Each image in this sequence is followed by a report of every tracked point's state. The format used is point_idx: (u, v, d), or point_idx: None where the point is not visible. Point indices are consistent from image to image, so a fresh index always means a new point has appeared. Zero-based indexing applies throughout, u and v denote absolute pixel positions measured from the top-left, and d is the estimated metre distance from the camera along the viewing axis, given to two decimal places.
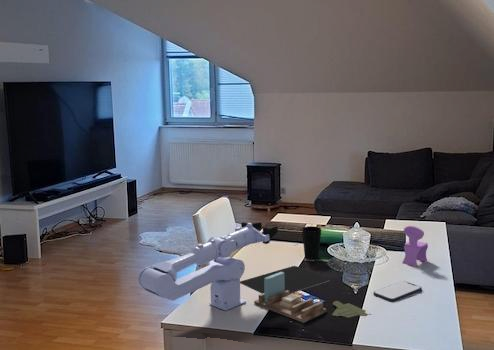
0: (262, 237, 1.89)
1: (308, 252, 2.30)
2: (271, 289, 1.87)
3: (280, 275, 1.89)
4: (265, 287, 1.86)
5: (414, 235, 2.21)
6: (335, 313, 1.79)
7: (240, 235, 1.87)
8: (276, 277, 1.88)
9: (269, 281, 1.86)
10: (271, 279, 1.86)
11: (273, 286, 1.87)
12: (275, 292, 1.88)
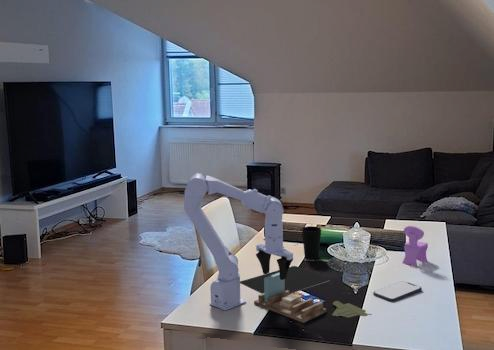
0: None
1: (308, 252, 2.30)
2: (271, 289, 1.87)
3: None
4: (265, 287, 1.86)
5: (414, 235, 2.21)
6: (335, 313, 1.79)
7: (280, 232, 1.84)
8: (276, 277, 1.88)
9: (269, 281, 1.86)
10: (271, 279, 1.86)
11: (273, 286, 1.87)
12: (275, 292, 1.88)
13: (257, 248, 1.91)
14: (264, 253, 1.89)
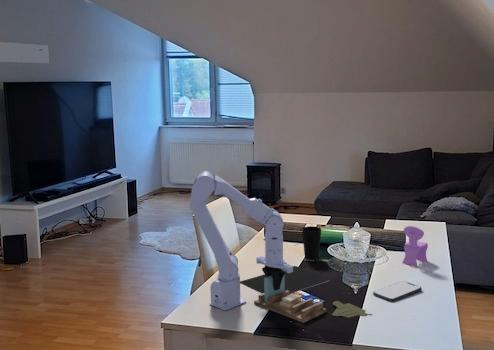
0: None
1: (308, 252, 2.30)
2: (271, 289, 1.87)
3: None
4: (265, 287, 1.86)
5: (414, 235, 2.21)
6: (335, 313, 1.79)
7: (280, 245, 1.85)
8: None
9: (269, 281, 1.86)
10: (271, 279, 1.86)
11: None
12: (275, 292, 1.88)
13: (257, 261, 1.92)
14: (270, 268, 1.88)
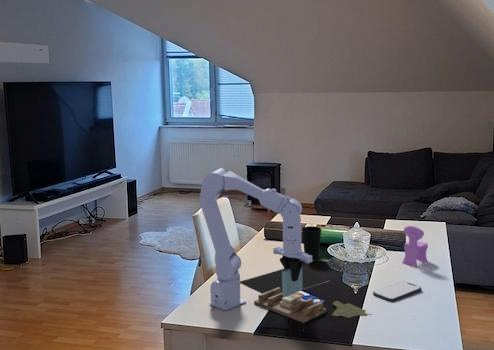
0: None
1: (308, 252, 2.30)
2: (289, 282, 1.81)
3: None
4: (283, 281, 1.80)
5: (414, 235, 2.21)
6: (335, 313, 1.79)
7: (297, 235, 1.78)
8: None
9: (287, 274, 1.80)
10: (289, 272, 1.80)
11: (291, 280, 1.81)
12: (293, 285, 1.82)
13: (274, 251, 1.85)
14: (288, 258, 1.82)
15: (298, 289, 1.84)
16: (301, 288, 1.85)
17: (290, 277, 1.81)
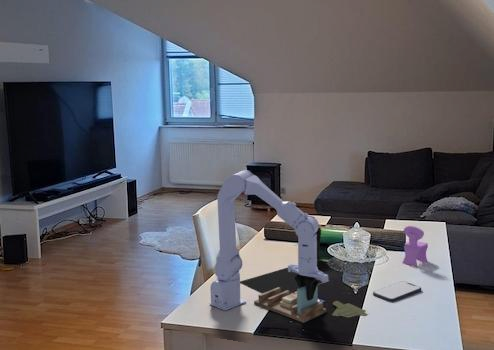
0: None
1: None
2: (305, 300, 1.77)
3: None
4: (298, 299, 1.76)
5: (414, 235, 2.21)
6: (335, 313, 1.79)
7: (312, 254, 1.74)
8: None
9: (302, 292, 1.76)
10: (304, 290, 1.76)
11: (306, 297, 1.77)
12: (308, 303, 1.79)
13: (289, 269, 1.82)
14: (303, 276, 1.78)
15: None
16: None
17: (305, 295, 1.77)
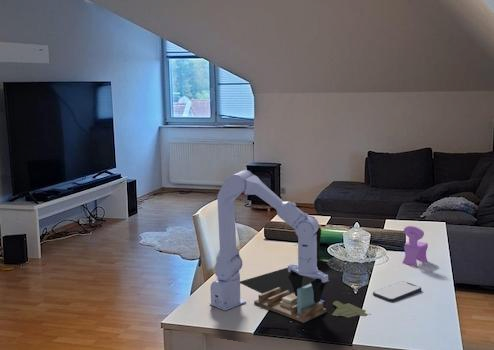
0: None
1: None
2: (305, 300, 1.77)
3: None
4: (298, 299, 1.76)
5: (414, 235, 2.21)
6: (335, 313, 1.79)
7: (312, 254, 1.74)
8: (309, 288, 1.78)
9: (302, 292, 1.76)
10: (304, 290, 1.76)
11: (306, 297, 1.77)
12: (308, 303, 1.79)
13: (289, 269, 1.82)
14: (296, 274, 1.80)
15: None
16: None
17: (305, 295, 1.77)
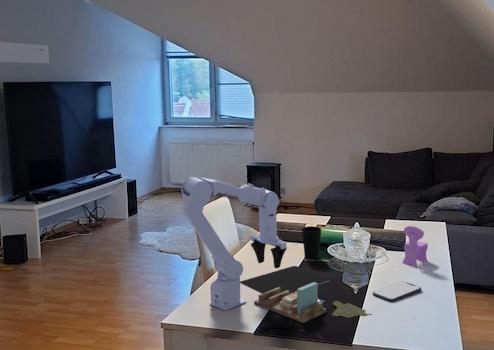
0: None
1: (308, 252, 2.30)
2: (305, 300, 1.77)
3: (313, 286, 1.79)
4: (298, 299, 1.76)
5: (414, 235, 2.21)
6: (335, 313, 1.79)
7: (276, 221, 1.91)
8: (309, 288, 1.78)
9: (302, 292, 1.76)
10: (304, 290, 1.76)
11: (306, 297, 1.77)
12: (308, 303, 1.79)
13: (252, 238, 1.97)
14: (259, 243, 1.95)
15: None
16: None
17: (305, 295, 1.77)
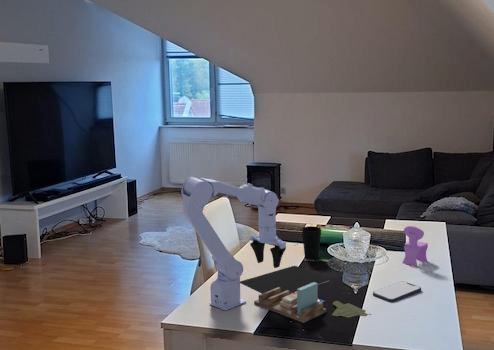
0: None
1: (308, 252, 2.30)
2: (305, 300, 1.77)
3: (313, 286, 1.79)
4: (298, 299, 1.76)
5: (414, 235, 2.21)
6: (335, 313, 1.79)
7: (275, 221, 1.91)
8: (309, 288, 1.78)
9: (302, 292, 1.76)
10: (304, 290, 1.76)
11: (306, 297, 1.77)
12: (308, 303, 1.79)
13: (251, 238, 1.97)
14: (258, 242, 1.96)
15: None
16: None
17: (305, 295, 1.77)
